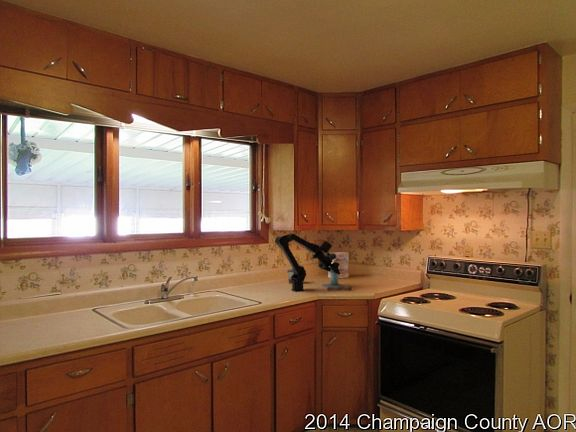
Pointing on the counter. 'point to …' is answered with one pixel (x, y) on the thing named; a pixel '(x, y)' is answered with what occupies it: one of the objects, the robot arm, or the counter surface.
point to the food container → (290, 273)
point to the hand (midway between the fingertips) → (335, 273)
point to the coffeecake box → (342, 264)
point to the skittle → (333, 278)
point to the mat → (333, 286)
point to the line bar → (339, 288)
